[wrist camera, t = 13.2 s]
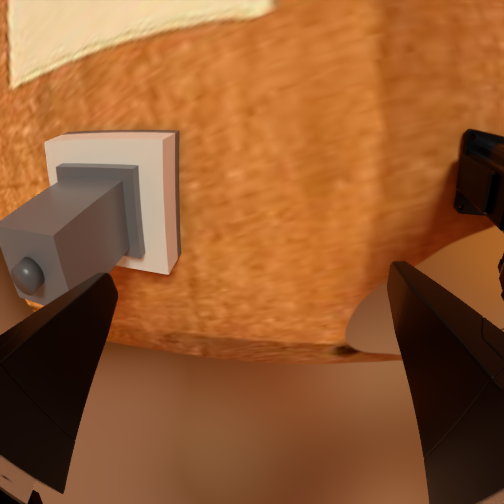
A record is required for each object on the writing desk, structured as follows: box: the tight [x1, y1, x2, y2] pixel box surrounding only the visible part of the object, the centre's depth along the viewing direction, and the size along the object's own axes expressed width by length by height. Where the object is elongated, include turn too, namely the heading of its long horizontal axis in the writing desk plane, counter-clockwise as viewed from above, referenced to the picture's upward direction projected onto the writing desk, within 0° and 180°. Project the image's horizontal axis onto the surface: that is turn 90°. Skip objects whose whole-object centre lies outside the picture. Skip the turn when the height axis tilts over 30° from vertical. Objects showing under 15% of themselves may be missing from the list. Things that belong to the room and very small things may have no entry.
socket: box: [44, 130, 181, 275], centre depth 21 cm, size 10×10×3 cm
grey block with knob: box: [0, 163, 145, 305], centre depth 17 cm, size 7×7×11 cm
